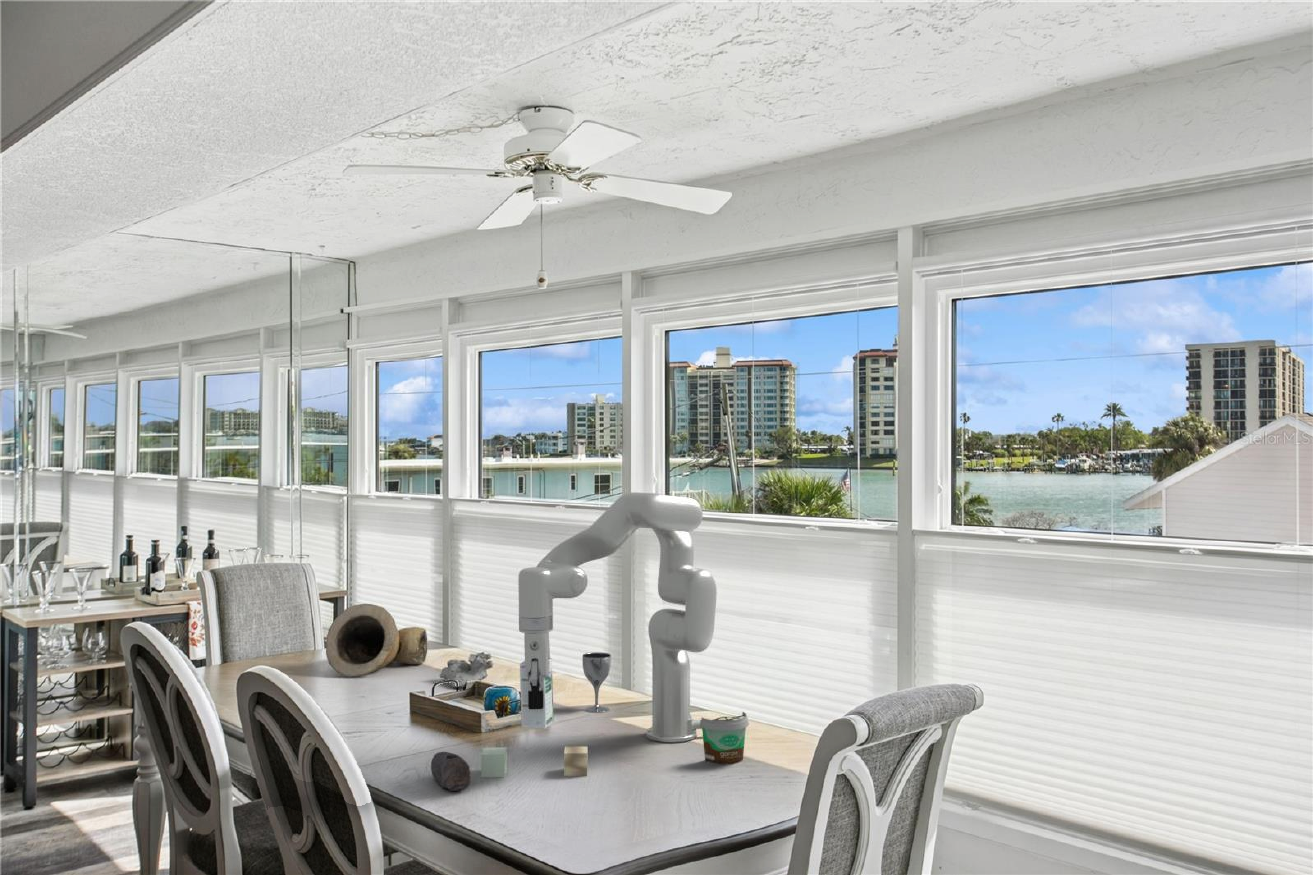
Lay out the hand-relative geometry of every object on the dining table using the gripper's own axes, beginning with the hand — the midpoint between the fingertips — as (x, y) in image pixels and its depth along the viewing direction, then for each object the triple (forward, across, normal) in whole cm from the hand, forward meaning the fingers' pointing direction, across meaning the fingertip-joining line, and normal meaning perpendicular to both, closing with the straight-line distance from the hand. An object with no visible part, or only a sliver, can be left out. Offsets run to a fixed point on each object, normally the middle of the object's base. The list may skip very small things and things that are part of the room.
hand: (537, 703), depth 214 cm
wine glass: (+16, +54, -12) cm, 57 cm away
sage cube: (+15, 0, +10) cm, 18 cm away
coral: (+16, +87, +29) cm, 93 cm away
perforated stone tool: (+15, -8, +19) cm, 25 cm away
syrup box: (+5, 0, 0) cm, 5 cm away
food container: (+16, +6, -43) cm, 47 cm away
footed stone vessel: (+16, +111, +61) cm, 128 cm away
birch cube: (+15, 0, -8) cm, 18 cm away
